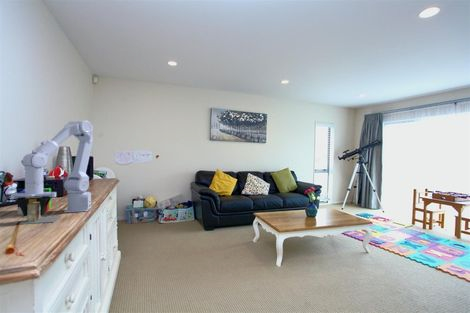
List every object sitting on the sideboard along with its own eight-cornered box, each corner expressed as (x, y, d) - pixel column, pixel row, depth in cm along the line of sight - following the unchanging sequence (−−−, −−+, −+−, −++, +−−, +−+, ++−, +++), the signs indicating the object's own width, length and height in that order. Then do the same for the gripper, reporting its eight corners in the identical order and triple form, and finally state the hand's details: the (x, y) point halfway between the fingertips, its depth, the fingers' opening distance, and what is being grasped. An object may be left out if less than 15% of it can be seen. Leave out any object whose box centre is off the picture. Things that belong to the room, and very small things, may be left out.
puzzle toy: (17, 214, 103) (17, 192, 103) (25, 209, 112) (25, 189, 112) (45, 212, 108) (45, 191, 108) (50, 207, 117) (51, 188, 117)
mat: (60, 216, 101) (61, 216, 101) (53, 222, 93) (53, 221, 93) (30, 218, 98) (30, 217, 98) (19, 224, 90) (19, 223, 90)
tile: (40, 218, 98) (40, 201, 97) (34, 221, 93) (35, 204, 93) (33, 218, 97) (33, 202, 97) (27, 222, 92) (27, 204, 92)
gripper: (6, 184, 88) (6, 219, 89) (51, 183, 93) (51, 216, 93) (16, 182, 95) (16, 214, 95) (58, 181, 100) (58, 212, 100)
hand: (34, 215), depth 95 cm, fingers open, 5 cm apart
